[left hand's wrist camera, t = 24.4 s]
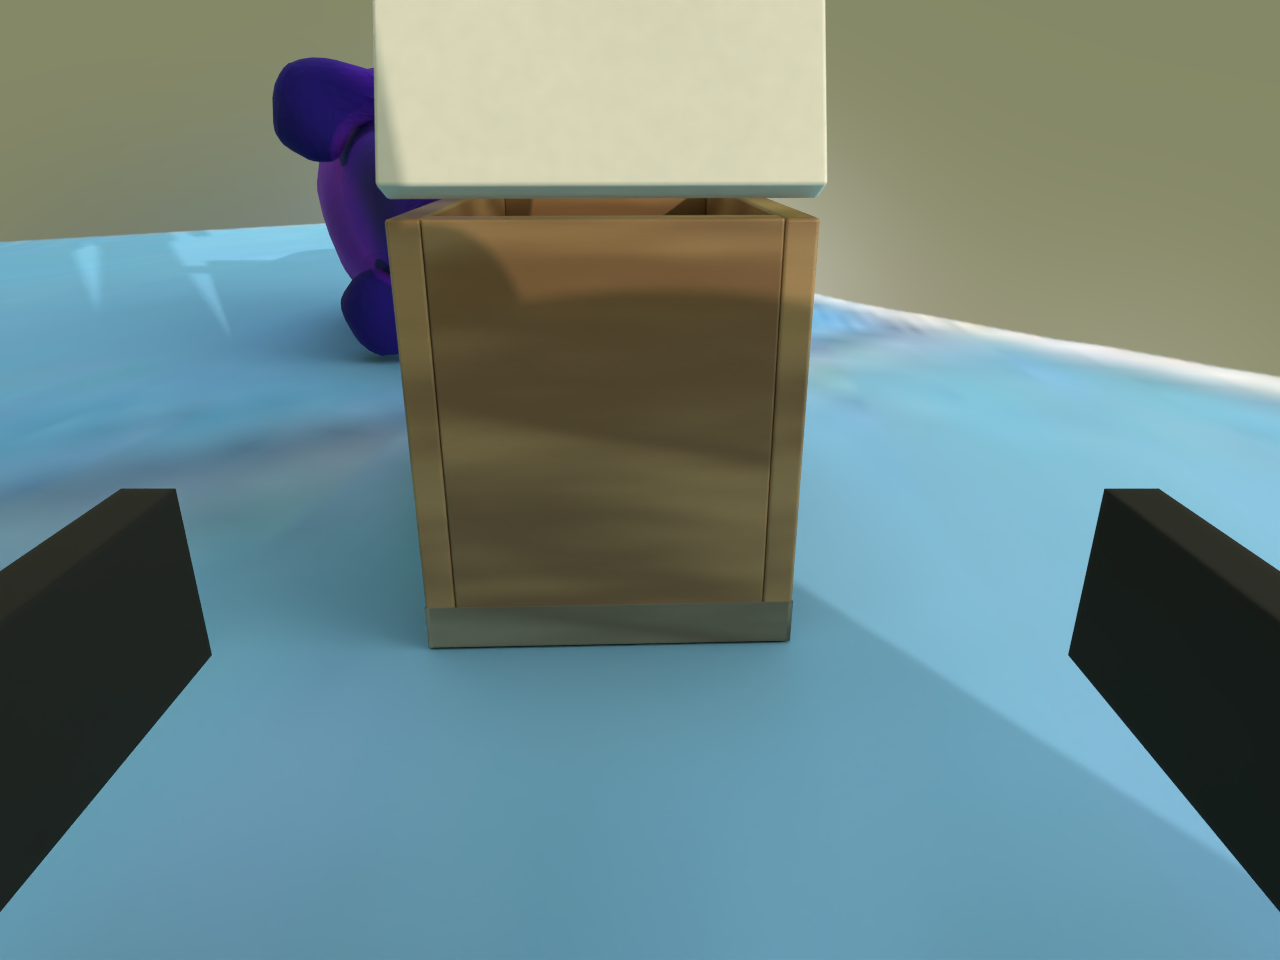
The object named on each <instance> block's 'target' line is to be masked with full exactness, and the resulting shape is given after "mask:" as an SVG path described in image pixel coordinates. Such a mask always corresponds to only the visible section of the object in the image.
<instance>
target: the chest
mask: <svg viewBox="0 0 1280 960" xmlns="http://www.w3.org/2000/svg"><path fill="white" fill-rule="evenodd" d="M385 228H386V237H387V246H388V256H389V265H390V274H391V284H392V293H393V303H394V312H395V321H396V331H397V340H398V349H399V359H400V368H401V377H402V387H403V396H404V406H405V415H406V424H407V434H408V443H409V452H410V462H411V471H412V480H413V490H414V499H415V509H416V518H417V527H418V537H419V546H420V555H421V565H422V574H423V583H424V593H425V602H426V607H425V613H426V623H427V632H428V641H429V648H438V647H488V646H538V645H588V644H638V643H689V642H739V641H789V640H790V631H791V618H792V604H793V601H792V588H793V574H794V561H795V547H796V534H797V520H798V506H799V493H800V479H801V466H802V452H803V438H804V425H805V411H806V398H807V384H808V371H809V357H810V343H811V330H812V316H813V303H814V289H815V275H816V261H817V248H818V235H819V219H818V218H816V217H814V216H811V215H809V214H806V213H803V212H801V211H798V210H796V209H793V208H790V207H788V206H785V205H782V204H780V203H777V202H775V201H772V200H769V199H767V198H560V199H441V200H438V201H435V202H433V203H430V204H427V205H425V206H422V207H419V208H417V209H414V210H411V211H408V212H406V213H403V214H400V215H398V216H395V217H392V218H390V219H387V220H386V221H385Z"/></svg>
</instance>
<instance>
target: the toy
mask: <svg viewBox="0 0 1280 960" xmlns="http://www.w3.org/2000/svg"><path fill="white" fill-rule="evenodd" d="M273 124H274V130H275V132H276V135H277V136H278V138H279V139H280V141H281V142H282V143H283V144H284V145H285V146H286V147H288V148H289V149H291V150H292V151H294V152H296V153H297V154H299V155H301V156H303V157H305V158H307V159H309V160H312V161H317V162H319V170H318V179H317V191H318V196H319V200H320V204H321V209H322V213H323V217H324V220H325V223H326V226H327V229H328V232H329V235H330V237H331V240H332V242H333V244H334V247H335V249H336V251H337V254H338V256H339V258H340V261H341V263H342V265H343V267H344V269H345V270H346V272H347V273H348V275H349V276H350V278H351V279H352V281H351V283H350V284H349V286H348V287H347V289H346V290H345V292H344V294H343V296H342V298H341V310H342V312H343V315H344V318H345V320H346V322H347V324H348V325H349V327H350V329H351V330H352V332H353V334H354V335H355V337H356V338H357V339H358V341H359V342H360V343H361V344H362V345H363V346H364V347H366V348H367V349H368V350H370V351H371V352H373V353H376V354H379V355H382V356H383V355H393V354H398V353H399V349H398V340H397V331H396V321H395V312H394V303H393V293H392V284H391V274H390V265H389V256H388V246H387V237H386V228H385V221H386V220H387V219H390V218H392V217H395V216H398V215H400V214H403V213H406V212H408V211H411V210H414V209H417V208H419V207H422V206H425V205H427V204H430V203H433V202H435V201H438V200H441V199H389V198H387V197H386V196H385V195H384V194H383V193H382V191H381V190H380V189H379V188H378V186H377V185H376V168H375V108H374V68H370V69H365V68H362V67H359V66H355V65H352V64H348V63H345V62H341V61H338V60H333V59H327V58H305V59H300V60H297V61H294V62H292V63H288V64H287V65H286V66H285V67H284V68H283V70H282V71H281V72H280V74H279V76H278V78H277V80H276V83H275V85H274V91H273Z"/></svg>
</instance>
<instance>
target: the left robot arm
mask: <svg viewBox="0 0 1280 960" xmlns="http://www.w3.org/2000/svg"><path fill="white" fill-rule="evenodd" d="M211 655H212V654H211V649H210V645H209V640H208V635H207V631H206V626H205V622H204V617H203V612H202V608H201V603H200V599H199V594H198V590H197V585H196V580H195V576H194V571H193V567H192V562H191V557H190V553H189V548H188V544H187V539H186V535H185V530H184V525H183V521H182V516H181V512H180V507H179V502H178V498H177V493H176V489H120V490H119V491H117V492H116V493H114V494H113V495H111V496H110V497H108V498H107V499H105V500H104V501H103V502H101V503H100V504H98V505H97V506H95V507H94V508H92V509H91V510H89V511H88V512H86V513H85V514H83V515H82V516H81V517H79V518H78V519H76V520H75V521H73V522H72V523H70V524H69V525H67V526H66V527H64V528H63V529H61V530H60V531H59V532H57V533H56V534H54V535H53V536H51V537H50V538H48V539H47V540H45V541H44V542H42V543H41V544H39V545H38V546H37V547H35V548H34V549H32V550H31V551H29V552H28V553H26V554H25V555H23V556H22V557H20V558H19V559H17V560H16V561H15V562H13V563H12V564H10V565H9V566H7V567H6V568H4V569H3V570H1V571H0V911H1V910H2V909H3V908H4V907H5V905H6V904H7V903H8V902H9V901H10V899H11V898H12V897H13V896H14V894H15V893H16V892H17V891H18V890H19V888H20V887H21V886H22V885H23V884H24V882H25V881H26V880H27V879H28V877H29V876H30V875H31V874H32V873H33V871H34V870H35V869H36V868H37V867H38V865H39V864H40V863H41V862H42V860H43V859H44V858H45V857H46V856H47V854H48V853H49V852H50V851H51V850H52V848H53V847H54V846H55V845H56V843H57V842H58V841H59V840H60V839H61V837H62V836H63V835H64V834H65V833H66V831H67V830H68V829H69V828H70V826H71V825H72V824H73V823H74V822H75V820H76V819H77V818H78V817H79V816H80V814H81V813H82V812H83V811H84V810H85V808H86V807H87V806H88V805H89V803H90V802H91V801H92V800H93V799H94V797H95V796H96V795H97V794H98V793H99V791H100V790H101V789H102V788H103V786H104V785H105V784H106V783H107V782H108V780H109V779H110V778H111V777H112V776H113V774H114V773H115V772H116V771H117V769H118V768H119V767H120V766H121V765H122V763H123V762H124V761H125V760H126V759H127V757H128V756H129V755H130V754H131V752H132V751H133V750H134V749H135V748H136V746H137V745H138V744H139V743H140V742H141V740H142V739H143V738H144V737H145V735H146V734H147V733H148V732H149V731H150V729H151V728H152V727H153V726H154V725H155V723H156V722H157V721H158V720H159V718H160V717H161V716H162V715H163V714H164V712H165V711H166V710H167V709H168V708H169V706H170V705H171V704H172V703H173V701H174V700H175V699H176V698H177V697H178V695H179V694H180V693H181V692H182V691H183V689H184V688H185V687H186V686H187V684H188V683H189V682H190V681H191V680H192V678H193V677H194V676H195V675H196V674H197V672H198V671H199V670H200V669H201V667H202V666H203V665H204V664H205V663H206V661H207V660H208V659H209V658H210V657H211ZM1068 655H1069V657H1070V658H1071V659H1072V660H1073V661H1074V663H1075V664H1076V665H1077V666H1078V667H1079V669H1080V670H1081V671H1082V672H1083V674H1084V675H1085V676H1086V677H1087V678H1088V680H1089V681H1090V682H1091V683H1092V684H1093V686H1094V687H1095V688H1096V689H1097V691H1098V692H1099V693H1100V694H1101V695H1102V697H1103V698H1104V699H1105V700H1106V701H1107V703H1108V704H1109V705H1110V706H1111V708H1112V709H1113V710H1114V711H1115V712H1116V714H1117V715H1118V716H1119V717H1120V718H1121V720H1122V721H1123V722H1124V723H1125V725H1126V726H1127V727H1128V728H1129V729H1130V731H1131V732H1132V733H1133V734H1134V735H1135V737H1136V738H1137V739H1138V740H1139V742H1140V743H1141V744H1142V745H1143V746H1144V748H1145V749H1146V750H1147V751H1148V752H1149V754H1150V755H1151V756H1152V757H1153V759H1154V760H1155V761H1156V762H1157V763H1158V765H1159V766H1160V767H1161V768H1162V769H1163V771H1164V772H1165V773H1166V774H1167V776H1168V777H1169V778H1170V779H1171V780H1172V782H1173V783H1174V784H1175V785H1176V786H1177V788H1178V789H1179V790H1180V791H1181V793H1182V794H1183V795H1184V796H1185V797H1186V799H1187V800H1188V801H1189V802H1190V803H1191V805H1192V806H1193V807H1194V808H1195V810H1196V811H1197V812H1198V813H1199V814H1200V816H1201V817H1202V818H1203V819H1204V820H1205V822H1206V823H1207V824H1208V825H1209V826H1210V828H1211V829H1212V830H1213V831H1214V833H1215V834H1216V835H1217V836H1218V837H1219V839H1220V840H1221V841H1222V842H1223V843H1224V845H1225V846H1226V847H1227V848H1228V850H1229V851H1230V852H1231V853H1232V854H1233V856H1234V857H1235V858H1236V859H1237V860H1238V862H1239V863H1240V864H1241V865H1242V867H1243V868H1244V869H1245V870H1246V871H1247V873H1248V874H1249V875H1250V876H1251V877H1252V879H1253V880H1254V881H1255V882H1256V884H1257V885H1258V886H1259V887H1260V888H1261V890H1262V891H1263V892H1264V893H1265V894H1266V896H1267V897H1268V898H1269V899H1270V901H1271V902H1272V903H1273V904H1274V905H1275V907H1276V908H1277V909H1278V910H1279V911H1280V571H1279V570H1277V569H1276V568H1274V567H1273V566H1271V565H1270V564H1268V563H1267V562H1265V561H1264V560H1263V559H1261V558H1260V557H1258V556H1257V555H1255V554H1254V553H1252V552H1251V551H1249V550H1248V549H1246V548H1245V547H1243V546H1242V545H1241V544H1239V543H1238V542H1236V541H1235V540H1233V539H1232V538H1230V537H1229V536H1227V535H1226V534H1224V533H1223V532H1221V531H1220V530H1219V529H1217V528H1216V527H1214V526H1213V525H1211V524H1210V523H1208V522H1207V521H1205V520H1204V519H1202V518H1201V517H1199V516H1198V515H1197V514H1195V513H1194V512H1192V511H1191V510H1189V509H1188V508H1186V507H1185V506H1183V505H1182V504H1180V503H1179V502H1177V501H1176V500H1175V499H1173V498H1172V497H1170V496H1169V495H1167V494H1166V493H1164V492H1163V491H1161V490H1160V489H1104V493H1103V498H1102V502H1101V507H1100V512H1099V516H1098V521H1097V525H1096V530H1095V535H1094V539H1093V544H1092V548H1091V553H1090V557H1089V562H1088V567H1087V571H1086V576H1085V580H1084V585H1083V590H1082V594H1081V599H1080V603H1079V608H1078V612H1077V617H1076V622H1075V626H1074V631H1073V635H1072V640H1071V645H1070V649H1069V654H1068Z"/></svg>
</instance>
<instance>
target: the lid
mask: <svg viewBox="0 0 1280 960" xmlns="http://www.w3.org/2000/svg"><path fill="white" fill-rule="evenodd" d="M373 47H374V108H375V168H376V185H377V186H378V188H379V189H380V190H381V191H382V193H383V194H384V195H385V196H386V197H387V198H389V199H560V198H815V197H817V196H818V195H819V193H820V192H821V191H822V189H823V188H824V187H825V185H826V183H827V127H826V37H825V0H373Z"/></svg>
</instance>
